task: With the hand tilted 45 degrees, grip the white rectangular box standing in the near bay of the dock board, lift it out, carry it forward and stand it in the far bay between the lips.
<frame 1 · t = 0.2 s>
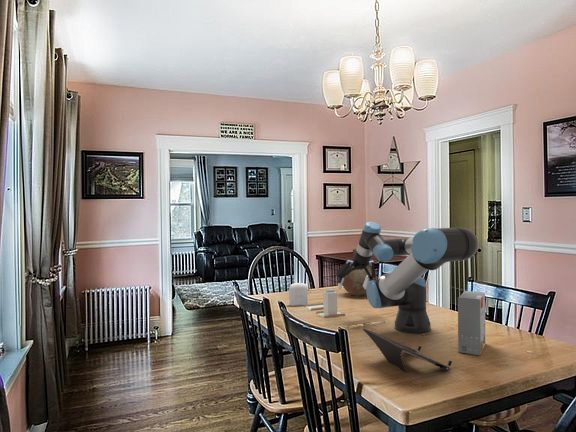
hand: (351, 287, 199), 14 cm above the table, tool tilted 30°, fingers open, 13 cm apart
white rectangular box: (330, 314, 200), point 1 cm above the table, touching dock board
jug: (359, 295, 248), on the table
dock board: (323, 313, 207), on the table
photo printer: (298, 305, 226), on the table
portable electronic device stand: (409, 365, 136), on the table
hard drive box: (472, 348, 151), on the table
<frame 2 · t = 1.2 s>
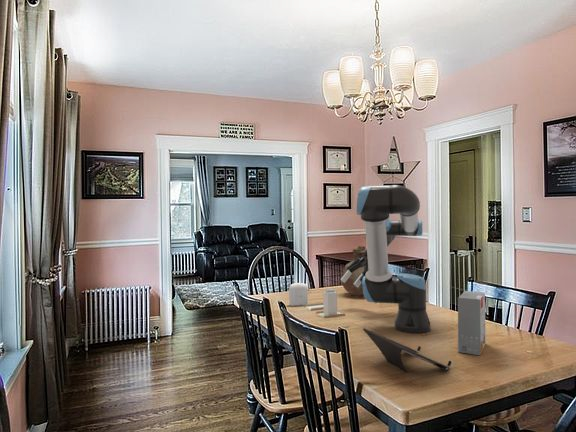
hand: (348, 283, 203), 16 cm above the table, tool tilted 45°, fingers open, 13 cm apart
nothing on the table moved.
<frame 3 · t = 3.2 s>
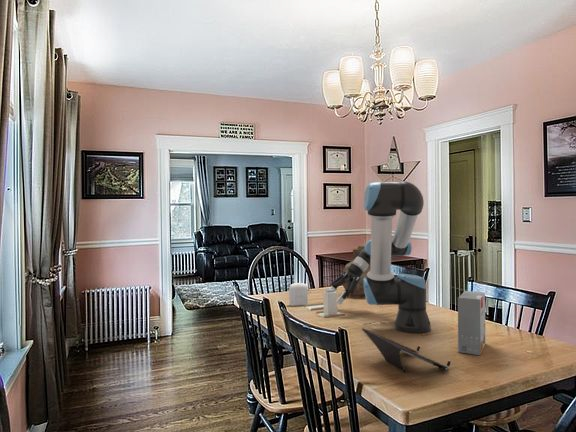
hand: (331, 300, 201), 8 cm above the table, tool tilted 45°, fingers open, 13 cm apart
nothing on the table moved.
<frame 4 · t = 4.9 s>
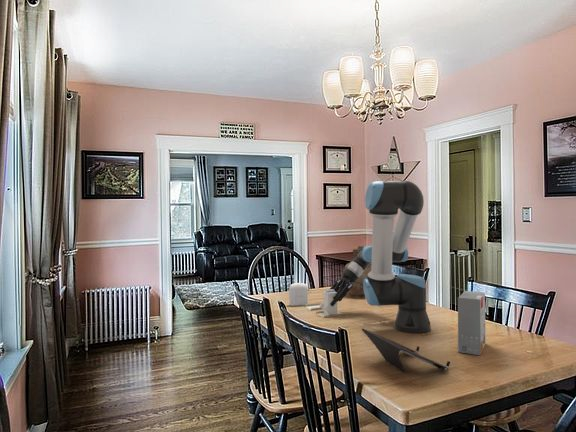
hand: (323, 309, 198), 4 cm above the table, tool tilted 45°, fingers closed on white rectangular box, 5 cm apart
white rectangular box: (330, 314, 200), point 1 cm above the table, touching dock board, gripper
everything else where it was.
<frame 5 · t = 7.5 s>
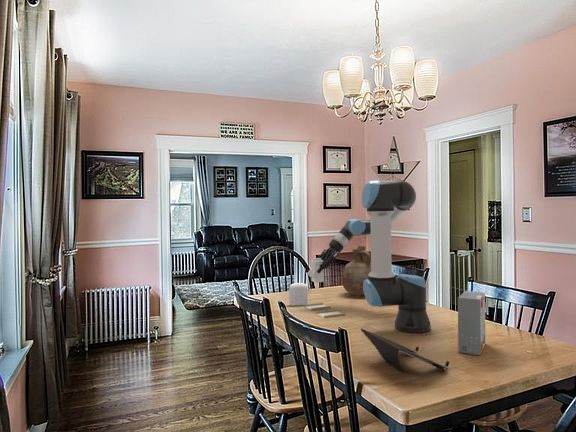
hand: (310, 276, 213), 18 cm above the table, tool tilted 45°, fingers closed on white rectangular box, 5 cm apart
white rectangular box: (317, 281, 214), point 15 cm above the table, touching gripper
everything else where it was.
when the fingers open (5 cm above the table, at t = 10.2 s): white rectangular box drops 1 cm, resting on dock board.
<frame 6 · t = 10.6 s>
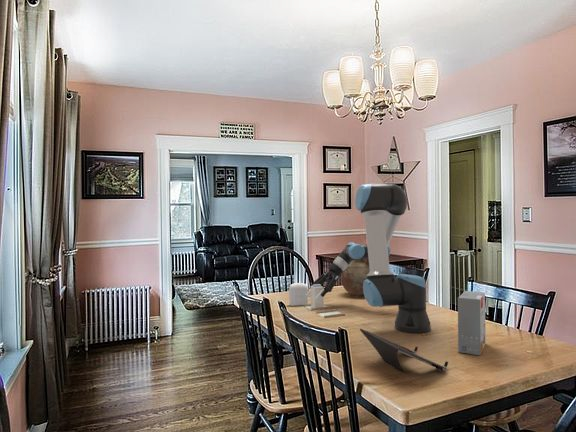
hand: (312, 298, 214), 6 cm above the table, tool tilted 45°, fingers open, 11 cm apart
white rectangular box: (317, 307, 215), point 1 cm above the table, touching dock board
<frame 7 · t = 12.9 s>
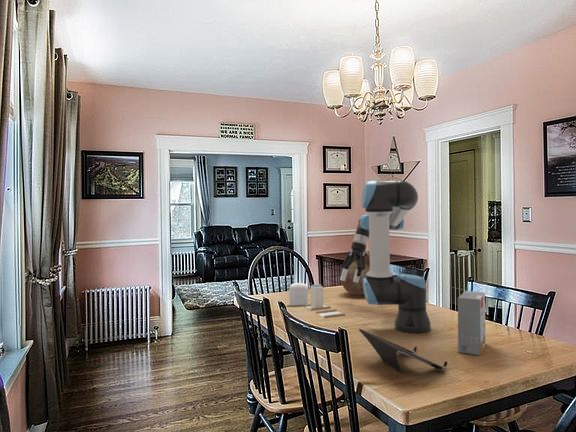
hand: (348, 281, 216), 14 cm above the table, tool tilted 25°, fingers open, 13 cm apart
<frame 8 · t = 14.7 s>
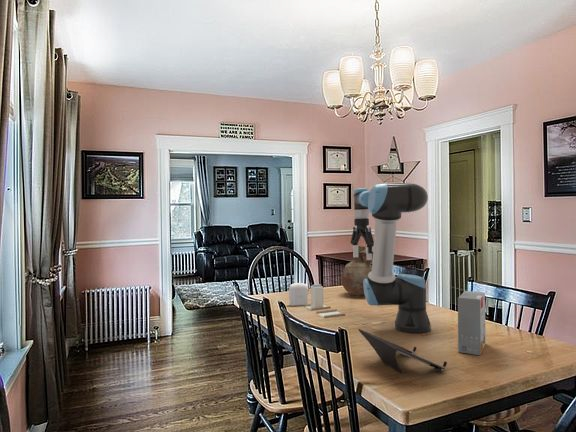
hand: (362, 258, 212), 27 cm above the table, tool pointing down, fingers open, 13 cm apart
at the end: white rectangular box inside the target area on the dock board (0.1 cm from its centre), point 1.3 cm above the dock board's base; white rectangular box tilted 0°; the gripper is holding nothing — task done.
